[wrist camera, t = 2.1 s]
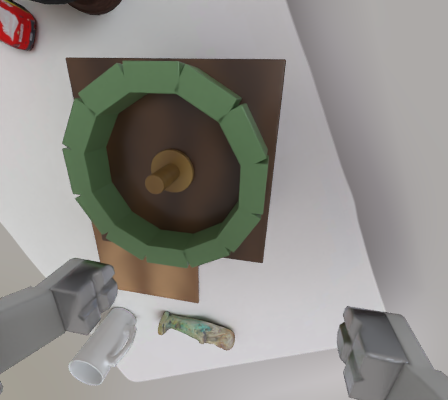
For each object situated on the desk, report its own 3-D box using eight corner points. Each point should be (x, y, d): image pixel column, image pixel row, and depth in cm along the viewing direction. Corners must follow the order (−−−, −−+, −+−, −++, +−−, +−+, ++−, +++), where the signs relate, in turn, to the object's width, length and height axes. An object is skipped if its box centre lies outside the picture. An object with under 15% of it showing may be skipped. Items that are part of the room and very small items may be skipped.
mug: (118, 329, 56) (80, 385, 45) (103, 307, 54) (61, 361, 43) (154, 326, 53) (124, 385, 42) (141, 302, 51) (105, 358, 40)
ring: (278, 67, 18) (278, 62, 15) (258, 258, 24) (256, 279, 22) (71, 64, 20) (40, 59, 18) (105, 237, 27) (86, 253, 24)
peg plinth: (281, 74, 30) (289, 49, 14) (266, 206, 37) (260, 292, 21) (145, 71, 33) (19, 49, 17) (156, 194, 40) (76, 263, 24)
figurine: (167, 301, 49) (159, 316, 46) (238, 326, 48) (236, 343, 45) (163, 319, 52) (155, 335, 48) (231, 342, 51) (228, 361, 47)
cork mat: (197, 210, 40) (196, 211, 39) (198, 301, 48) (198, 303, 47) (88, 198, 43) (86, 199, 43) (106, 285, 51) (105, 287, 51)
